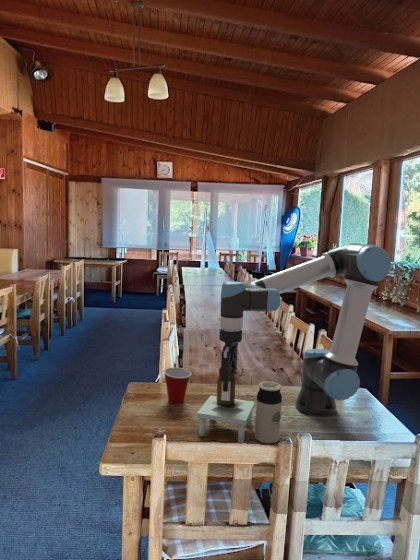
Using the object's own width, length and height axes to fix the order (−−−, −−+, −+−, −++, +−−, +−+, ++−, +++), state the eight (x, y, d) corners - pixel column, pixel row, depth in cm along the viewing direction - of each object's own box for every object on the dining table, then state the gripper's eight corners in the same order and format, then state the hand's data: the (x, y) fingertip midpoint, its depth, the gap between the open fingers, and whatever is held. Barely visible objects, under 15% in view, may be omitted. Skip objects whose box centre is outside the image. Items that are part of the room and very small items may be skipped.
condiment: (222, 397, 155) (224, 363, 153) (243, 403, 150) (245, 369, 149) (210, 403, 149) (212, 369, 147) (232, 410, 144) (234, 374, 143)
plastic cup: (186, 408, 167) (187, 377, 166) (159, 404, 169) (160, 374, 168) (193, 397, 178) (194, 368, 176) (167, 394, 180) (168, 365, 179)
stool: (253, 423, 156) (255, 401, 155) (244, 444, 141) (245, 420, 140) (209, 416, 161) (210, 395, 160) (196, 436, 146) (197, 412, 145)
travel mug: (250, 434, 148) (253, 382, 146) (270, 431, 152) (273, 379, 149) (262, 445, 141) (266, 391, 139) (283, 441, 144) (287, 388, 142)
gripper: (226, 321, 157) (224, 385, 160) (212, 334, 139) (209, 405, 141) (247, 324, 155) (244, 388, 158) (235, 336, 137) (232, 409, 139)
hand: (227, 396), depth 150 cm, fingers closed on condiment, 6 cm apart
